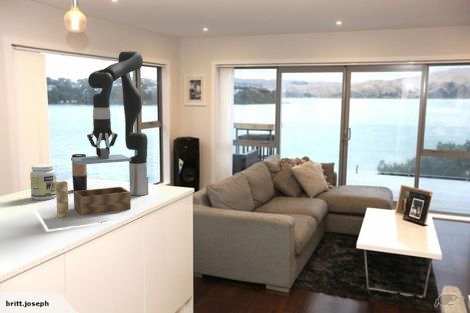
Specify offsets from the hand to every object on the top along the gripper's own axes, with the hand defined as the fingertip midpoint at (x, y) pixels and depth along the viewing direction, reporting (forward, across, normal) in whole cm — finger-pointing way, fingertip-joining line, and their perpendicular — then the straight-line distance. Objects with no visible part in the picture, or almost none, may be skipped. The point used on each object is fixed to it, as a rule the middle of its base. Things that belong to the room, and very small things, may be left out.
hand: (103, 155), depth 192 cm
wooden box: (+26, -1, 0) cm, 26 cm away
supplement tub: (+26, -20, +40) cm, 52 cm away
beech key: (+25, -19, -5) cm, 32 cm away
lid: (+2, -1, 0) cm, 2 cm away
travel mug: (+26, 0, +50) cm, 56 cm away
